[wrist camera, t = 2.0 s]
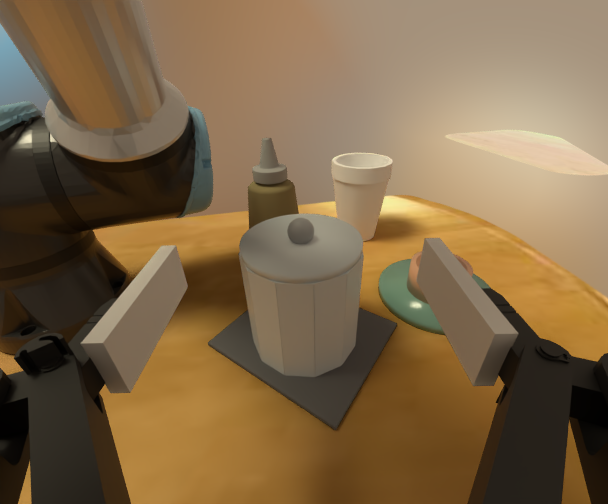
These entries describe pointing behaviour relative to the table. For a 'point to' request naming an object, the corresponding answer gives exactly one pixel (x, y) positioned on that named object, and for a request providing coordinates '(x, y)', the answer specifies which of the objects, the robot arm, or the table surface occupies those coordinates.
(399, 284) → the green and pink dish
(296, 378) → the mat
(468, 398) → the table surface
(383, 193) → the foam cup
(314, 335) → the lidded canister
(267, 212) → the squeeze bottle
